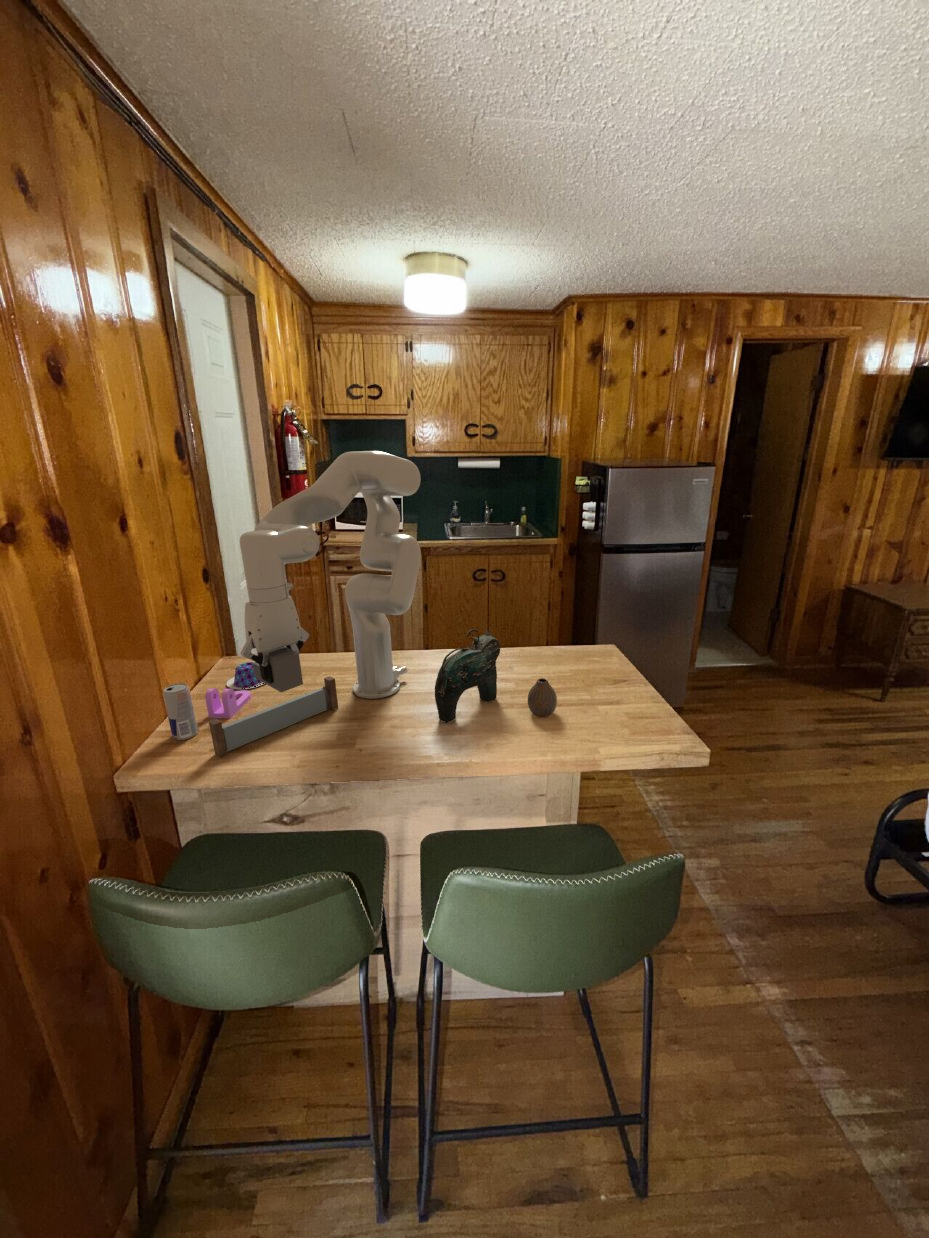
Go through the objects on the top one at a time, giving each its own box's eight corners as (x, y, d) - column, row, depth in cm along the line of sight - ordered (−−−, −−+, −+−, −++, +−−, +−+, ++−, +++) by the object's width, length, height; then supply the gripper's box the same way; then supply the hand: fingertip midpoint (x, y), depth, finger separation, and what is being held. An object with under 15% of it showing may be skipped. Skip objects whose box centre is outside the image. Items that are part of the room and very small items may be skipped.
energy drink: (178, 729, 127) (168, 683, 123) (201, 728, 127) (192, 681, 124) (168, 741, 122) (157, 693, 118) (192, 739, 122) (182, 692, 119)
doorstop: (276, 670, 120) (271, 641, 117) (303, 684, 112) (298, 653, 110) (255, 678, 116) (250, 647, 114) (281, 692, 109) (276, 660, 107)
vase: (558, 709, 131) (559, 676, 129) (553, 722, 125) (554, 688, 122) (530, 705, 133) (531, 672, 131) (524, 718, 127) (524, 684, 125)
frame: (332, 704, 137) (329, 676, 134) (338, 707, 135) (335, 678, 133) (215, 754, 116) (208, 721, 114) (219, 758, 115) (213, 724, 112)
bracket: (230, 718, 132) (226, 693, 130) (209, 718, 132) (204, 692, 130) (255, 695, 144) (251, 671, 142) (235, 694, 145) (231, 671, 143)
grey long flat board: (327, 707, 135) (325, 685, 133) (330, 709, 134) (327, 687, 133) (225, 750, 117) (220, 725, 115) (227, 752, 117) (223, 727, 115)
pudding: (250, 671, 160) (247, 655, 159) (281, 677, 155) (278, 660, 154) (217, 687, 150) (213, 670, 148) (249, 694, 145) (245, 676, 143)
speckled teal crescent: (488, 691, 142) (486, 619, 136) (506, 698, 137) (506, 624, 131) (431, 718, 129) (427, 640, 122) (450, 727, 124) (446, 646, 118)
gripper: (296, 581, 115) (307, 660, 121) (217, 600, 104) (233, 685, 109) (316, 587, 111) (326, 668, 116) (235, 606, 99) (251, 696, 105)
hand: (281, 676), depth 113 cm, fingers closed on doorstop, 5 cm apart
